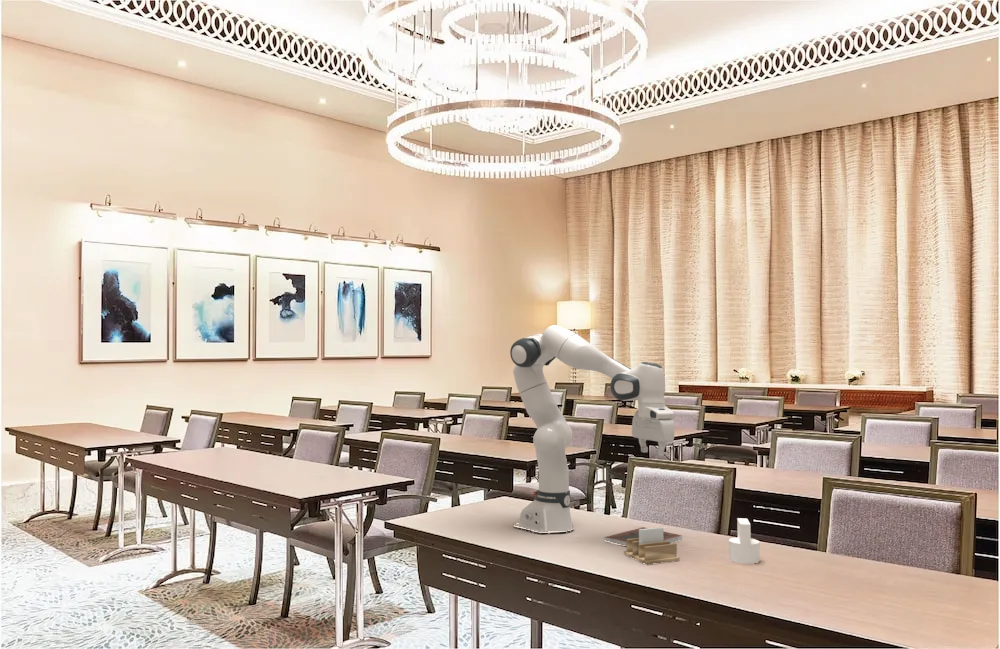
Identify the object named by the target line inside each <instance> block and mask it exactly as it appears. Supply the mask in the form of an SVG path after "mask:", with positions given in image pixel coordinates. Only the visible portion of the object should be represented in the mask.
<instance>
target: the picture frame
mask: <svg viewBox="0 0 1000 649" xmlns="http://www.w3.org/2000/svg"><path fill="white" fill-rule="evenodd" d="M646 528H647V527H639V528H634V529H631V530H627V531H624V532H623V531H622V532H619V533H615V534H611V535H608V536H607V535H606V536H605V537H604V539H603V540H606V541H610V542H613V543H617V544H621V545H625V546H627V539H633V538H639V529H646ZM663 539H664V541H670V544H673V543H672V542H674V543H676V542H675V541H677V542H679V541H678V540H681V541H683V535H682V534H677V533H673V532H669V531H664V530H663Z"/></svg>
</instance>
